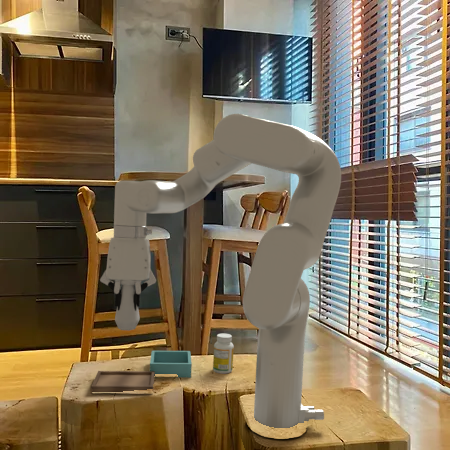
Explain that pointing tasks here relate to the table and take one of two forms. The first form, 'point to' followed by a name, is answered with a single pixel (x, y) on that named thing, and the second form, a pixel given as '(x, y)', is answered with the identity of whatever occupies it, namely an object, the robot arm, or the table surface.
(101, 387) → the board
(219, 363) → the supplement bottle
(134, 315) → the salt shaker
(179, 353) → the collar
